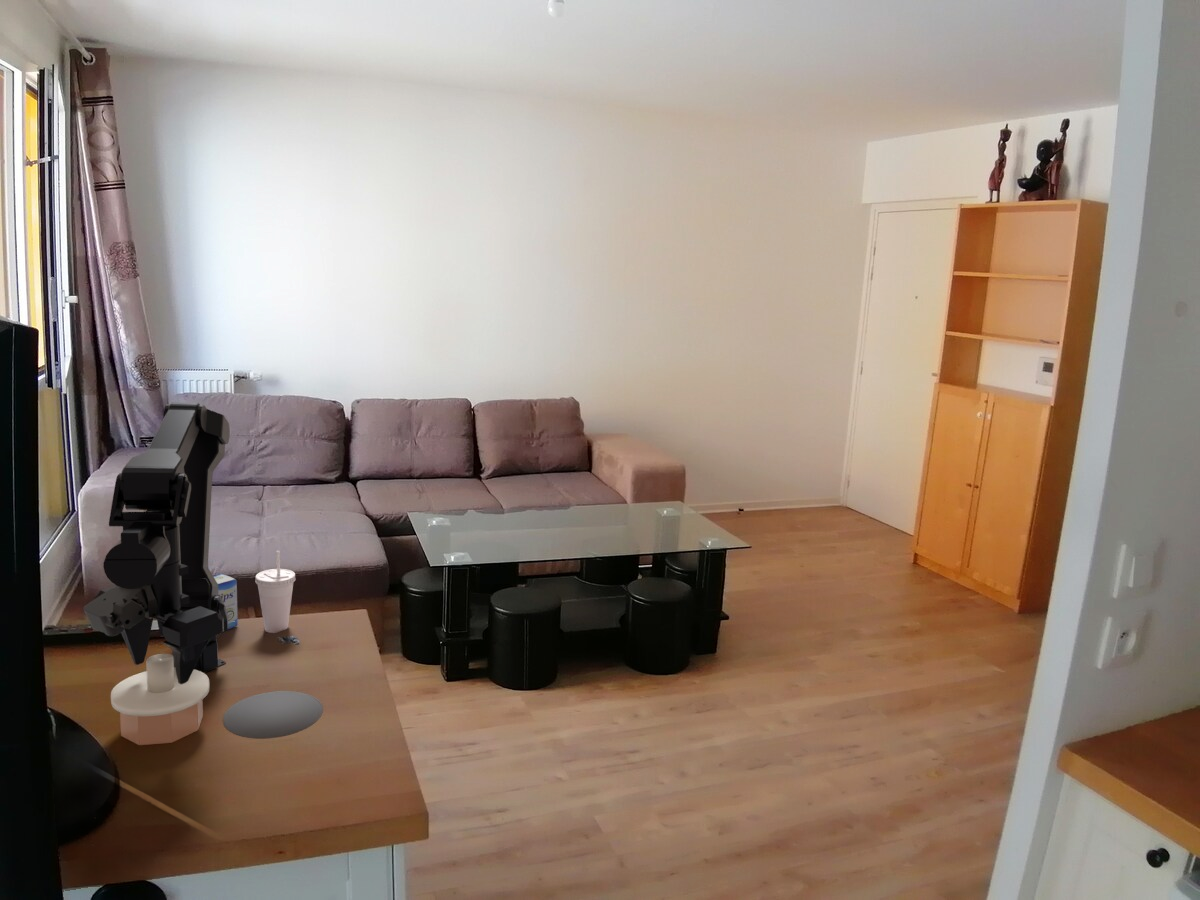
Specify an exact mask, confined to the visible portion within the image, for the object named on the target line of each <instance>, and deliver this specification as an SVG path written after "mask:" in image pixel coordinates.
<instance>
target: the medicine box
mask: <svg viewBox="0 0 1200 900" xmlns="http://www.w3.org/2000/svg"><path fill="white" fill-rule="evenodd" d="M213 577H214V578H215V580H216V582H217V583H218V596H221V598H222V600H223V602H224V605H225V607H226V610H227V616H228V630H230V629H233V628H236V627H238V625H239V624H238V617H239V616H238V588H237V586H238V585H237V583H238V582H237V579H235V578H234V577H231V576H229V575H226V574H222V573H221V574H216V575H213ZM231 621H235V622H231Z"/></svg>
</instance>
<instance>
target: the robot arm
mask: <svg viewBox="0 0 1200 900" xmlns="http://www.w3.org/2000/svg"><path fill="white" fill-rule="evenodd" d="M230 429H231V428H230V423H229V421H228V420H227V419H226V416H225V415H224V414H222V413H219V412H216V411H214V410H211V409H208V408H207V407H206V406H205V405H204V404H200V403H199V402H198V403H197V402H171V403H166V404H165V406H164V409H163V419H162V421H161V423H160V424H159V427H158V429H157V431H156V433H155V435H154V436H153V438H152V439H151V440H152V441H151V442H150V444H149V446H148V448H147V450H146V451H145V452H143V453H141V454H138V455H136V456H133V457H131V458H130V459H129V460H128V461H127V463H126V464H125V465H124V467H123V468H122V470H121V472H119V473H118V474H117V476H116V479H115V484H114V489H113V496H112V501H111V508H110V514H109V519H108V526H109V527H122V531H121V533H120V540H119V541H118V542H117V543H116V544H114V545H113V547H111V548H110V550H109V551H108V552H107V553H106V555H105V558H104V561H103V567H102V568H103V571H104V574H105V576H106V577H107V579H108V580H109V581H110V582H111V583H113V584H114V585H113V586H111V587H107V588H103V589H100V590H99V592H98V593H97V595H96V596H95V597H94V599H93V600H91V601H90V602H88V603H86V605H84V606H83V612H84V613H85V616H86V617H87V620H88V621H89V623H90V625H91V627H92V629H93V630H94V631H95V632H96V631H97V632H101V633H104V634H105V635H106V636H108V637H115V636H118V635H120V634H121V636H122V638H123V641H124V642H125V645H126V647H127V649H128V652H129V654H130V656H131V659H132V662H133V664H135V665H136V666H138V665H141V664H144V662H145V661H146V660H145V659H146V656H147V652H148V647H149V641H150V636H151V631H152V627H153V621H154V620H156V622H157V626H158V633H159V636H160V637H164V638H165V640H164V641H162V644H163V645H165V646H166V647H168V648H169V649H171V650H172V654H171V655H172V656H173V660H174V667H175V668H176V674H177V679H178V683H179V684H184V683H186V682H188V680H189V678H190V676H191V674H192V672H193V670H194V669H195V670H198V671H201V672H203V673H204V674H206V673H208V672H210V671H212V670H215V669H217V668H220V667H222V666H224V665H226V664H227V661H226V660H223V659H221V658H219V650H218V641H217V638H218V637H217V636H220V635H221V634H223V633H224V631H228V630H229V629H228V616H227V610H226V607H225V605H224V602H223V600H222V598H221V596H218V583H217V582H216V580H215V578H214V577H213V576H214V575H213V573H212V572H211V569H209V553H210V552H209V551H210V529H211V510H212V509H211V508H212V492H213V491H212V489H213V488H212V487H213V473H214V471H215V469H216V468H217V467H218V466H219V464H220V463H221V461H222V460H223V459H224V457H225V453H226V445H228V444H229V443H230V436H231V435H230V434H231V433H230ZM124 508H125V510H127V511H124Z"/></svg>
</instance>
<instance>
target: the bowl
mask: <svg viewBox="0 0 1200 900" xmlns="http://www.w3.org/2000/svg"><path fill="white" fill-rule="evenodd" d="M203 700H204V699H202V700H201V701H200V702H198V703H197V704H195V705H193V706H191V707H189V708H186V709H184V710H181V711H177V712H174V713H170V714H165V715H158V716H132V715H126V714H123V713H120V712H119V724H120V726H119V727H120V737H123V738H124V739H126V740H128V741H130V742H131V743H134V744H136V745H138V746H145V745H159V744H169V743H171V744H173V743H174V742H177V741H178V740H180V739H183V738H184V737H186V736H189V735H190V734H193V733H194V732H195V733H196V732H198V731H199V728H200V725H201V724H202V720H203V717H204V709H203V708H204V706H203V705H204V703H203Z"/></svg>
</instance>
